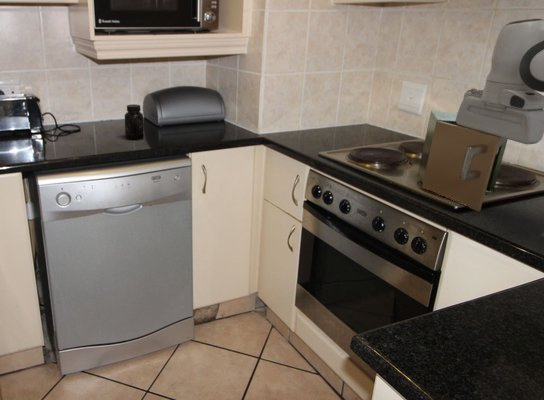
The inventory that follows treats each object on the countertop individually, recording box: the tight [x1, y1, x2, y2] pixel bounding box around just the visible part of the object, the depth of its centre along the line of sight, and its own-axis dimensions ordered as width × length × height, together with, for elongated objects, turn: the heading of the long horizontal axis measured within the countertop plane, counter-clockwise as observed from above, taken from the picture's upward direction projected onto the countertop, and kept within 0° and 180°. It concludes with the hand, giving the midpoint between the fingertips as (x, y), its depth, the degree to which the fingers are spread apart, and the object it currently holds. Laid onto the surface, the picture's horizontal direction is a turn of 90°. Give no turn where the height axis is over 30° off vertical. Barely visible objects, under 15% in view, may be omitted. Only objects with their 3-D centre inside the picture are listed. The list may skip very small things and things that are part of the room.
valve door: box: [421, 121, 500, 212], centre depth 120 cm, size 6×17×19 cm, turn 22°
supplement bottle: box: [124, 104, 145, 141], centre depth 174 cm, size 7×7×12 cm
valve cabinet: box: [417, 110, 509, 195], centre depth 131 cm, size 12×17×19 cm
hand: (488, 152), depth 114 cm, fingers closed
